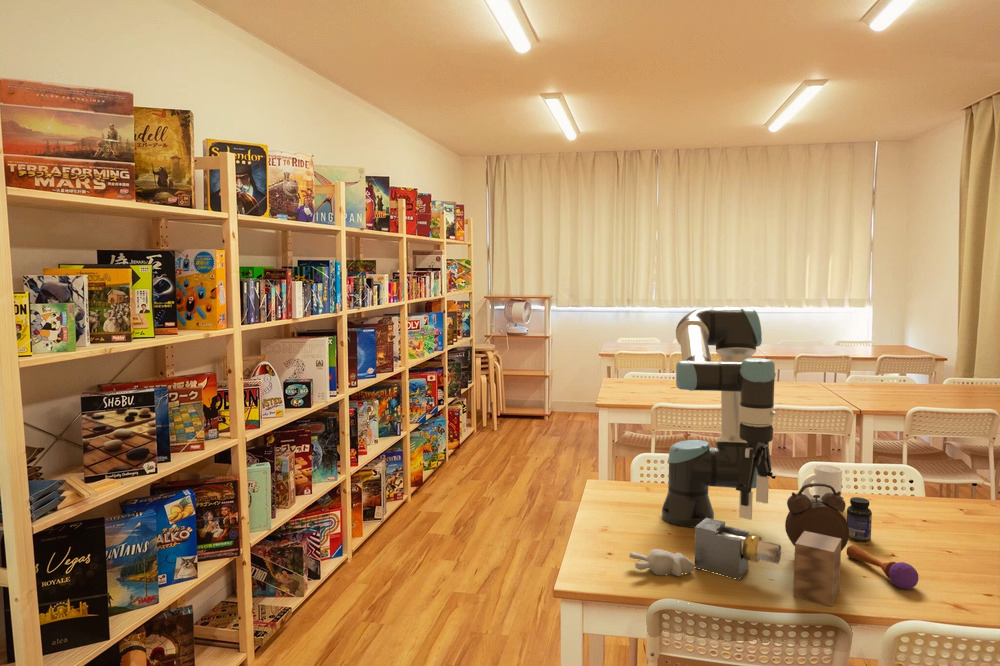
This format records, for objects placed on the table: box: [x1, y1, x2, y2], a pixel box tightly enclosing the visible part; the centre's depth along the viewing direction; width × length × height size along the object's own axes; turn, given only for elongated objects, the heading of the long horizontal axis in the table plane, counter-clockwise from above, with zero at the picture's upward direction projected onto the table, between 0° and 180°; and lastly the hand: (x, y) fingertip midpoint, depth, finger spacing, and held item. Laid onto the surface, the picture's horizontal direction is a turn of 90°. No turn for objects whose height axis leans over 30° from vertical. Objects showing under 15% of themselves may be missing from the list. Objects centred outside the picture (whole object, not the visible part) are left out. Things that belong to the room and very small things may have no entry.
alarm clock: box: [784, 482, 850, 556], centre depth 170 cm, size 14×7×20 cm, turn 86°
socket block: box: [792, 531, 842, 608], centre depth 152 cm, size 8×9×13 cm
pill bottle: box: [846, 496, 873, 543], centre depth 183 cm, size 6×6×11 cm
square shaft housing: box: [694, 518, 750, 580], centre depth 165 cm, size 11×8×11 cm
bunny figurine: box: [628, 548, 695, 577], centre depth 164 cm, size 10×5×15 cm
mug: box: [801, 464, 843, 501], centre depth 209 cm, size 8×12×12 cm
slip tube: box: [717, 531, 782, 565], centre depth 162 cm, size 19×6×6 cm, turn 53°
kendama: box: [846, 544, 919, 590], centre depth 162 cm, size 6×6×20 cm
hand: (754, 510), depth 159 cm, fingers open, 13 cm apart
